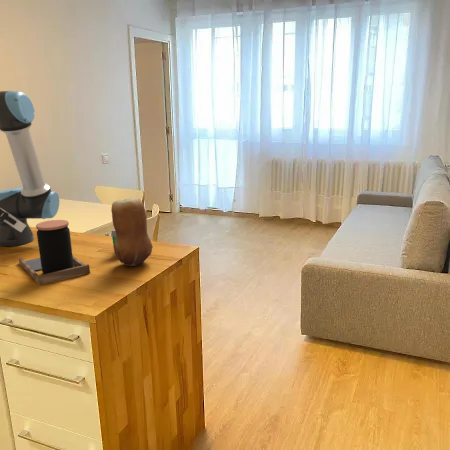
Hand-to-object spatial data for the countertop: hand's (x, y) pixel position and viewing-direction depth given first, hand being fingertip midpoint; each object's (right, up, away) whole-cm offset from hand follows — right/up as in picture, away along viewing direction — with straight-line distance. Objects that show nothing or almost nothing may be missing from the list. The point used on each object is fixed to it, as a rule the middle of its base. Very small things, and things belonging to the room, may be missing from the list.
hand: (18, 224), depth 147 cm
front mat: (+1, -14, +22) cm, 26 cm away
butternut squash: (+35, -15, +17) cm, 42 cm away
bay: (+5, -16, +16) cm, 23 cm away
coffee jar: (+9, -17, +12) cm, 23 cm away
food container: (+29, -11, +33) cm, 45 cm away
